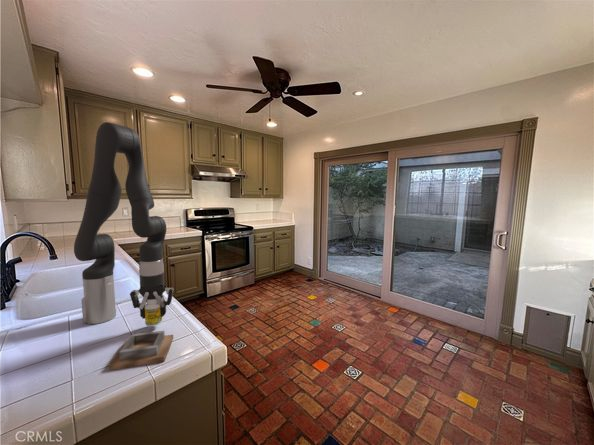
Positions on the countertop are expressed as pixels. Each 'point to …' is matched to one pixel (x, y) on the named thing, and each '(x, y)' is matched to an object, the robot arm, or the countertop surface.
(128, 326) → the countertop surface
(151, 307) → the supplement bottle
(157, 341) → the socket stand
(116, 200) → the robot arm
